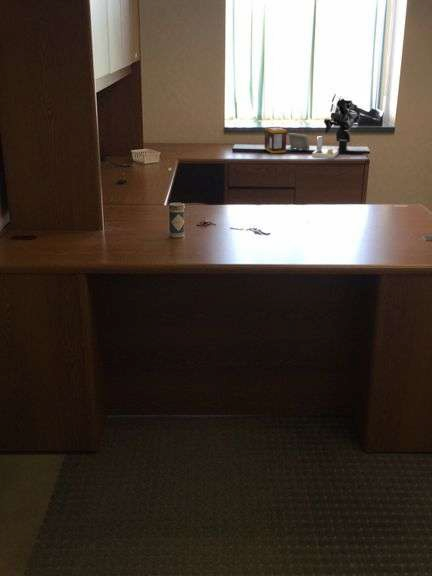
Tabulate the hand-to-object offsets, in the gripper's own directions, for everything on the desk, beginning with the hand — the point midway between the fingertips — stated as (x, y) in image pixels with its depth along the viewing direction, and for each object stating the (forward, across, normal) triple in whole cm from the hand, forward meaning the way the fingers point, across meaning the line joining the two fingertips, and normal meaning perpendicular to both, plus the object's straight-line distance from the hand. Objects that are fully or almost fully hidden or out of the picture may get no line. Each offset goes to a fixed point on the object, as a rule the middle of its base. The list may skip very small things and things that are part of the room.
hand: (330, 134), depth 430 cm
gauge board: (+13, 0, +6) cm, 15 cm away
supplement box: (+23, -34, -3) cm, 41 cm away
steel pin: (+17, -1, +2) cm, 17 cm away
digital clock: (+10, -26, +9) cm, 30 cm away
